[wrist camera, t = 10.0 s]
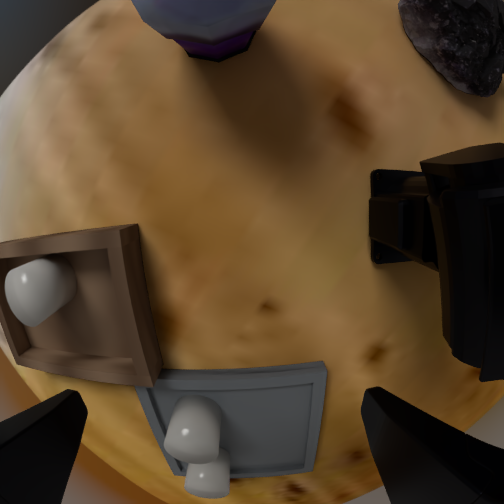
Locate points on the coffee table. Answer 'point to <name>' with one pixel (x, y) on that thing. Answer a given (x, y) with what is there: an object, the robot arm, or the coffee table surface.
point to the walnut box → (88, 309)
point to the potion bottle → (206, 24)
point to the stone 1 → (40, 288)
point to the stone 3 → (209, 477)
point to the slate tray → (249, 414)
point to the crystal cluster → (459, 40)
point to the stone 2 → (194, 430)
